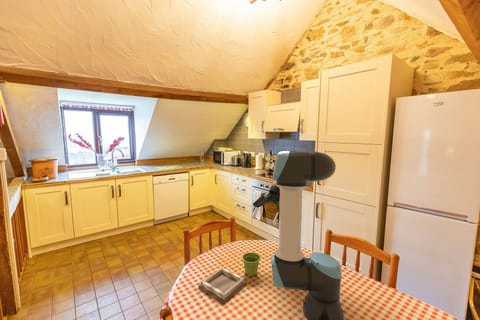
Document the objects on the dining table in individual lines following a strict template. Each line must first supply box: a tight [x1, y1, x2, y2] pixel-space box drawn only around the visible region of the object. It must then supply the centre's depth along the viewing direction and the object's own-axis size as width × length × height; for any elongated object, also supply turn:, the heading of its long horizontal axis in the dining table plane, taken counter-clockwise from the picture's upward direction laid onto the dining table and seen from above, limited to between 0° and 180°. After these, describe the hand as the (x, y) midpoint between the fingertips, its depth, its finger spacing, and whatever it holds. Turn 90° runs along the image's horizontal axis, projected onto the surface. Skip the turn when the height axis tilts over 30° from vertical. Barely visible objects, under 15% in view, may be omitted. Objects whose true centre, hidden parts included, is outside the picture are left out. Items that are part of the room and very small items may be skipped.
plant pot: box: [241, 251, 262, 277], centre depth 115 cm, size 9×9×9 cm
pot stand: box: [198, 266, 248, 304], centre depth 105 cm, size 16×16×3 cm
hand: (262, 221), depth 121 cm, fingers open, 13 cm apart
